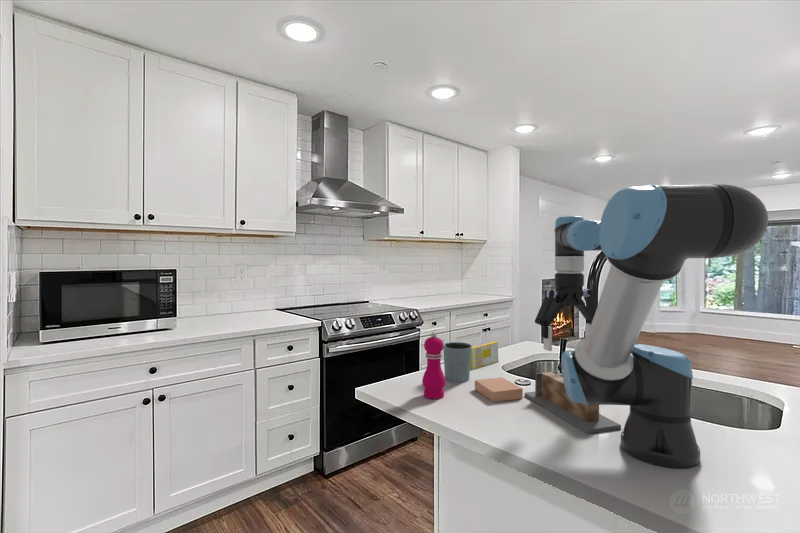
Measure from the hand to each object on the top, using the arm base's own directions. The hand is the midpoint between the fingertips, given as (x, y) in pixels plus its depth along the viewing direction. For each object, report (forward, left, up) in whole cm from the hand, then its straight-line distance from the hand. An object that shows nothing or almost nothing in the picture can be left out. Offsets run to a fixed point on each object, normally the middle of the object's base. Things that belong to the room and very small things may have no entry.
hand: (568, 348), depth 117 cm
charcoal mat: (0, 0, -18) cm, 18 cm away
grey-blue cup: (+36, +18, -18) cm, 44 cm away
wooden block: (0, 0, -17) cm, 17 cm away
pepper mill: (+22, +32, -18) cm, 43 cm away
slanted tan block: (+12, +12, -16) cm, 24 cm away
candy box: (+50, +1, -18) cm, 53 cm away
